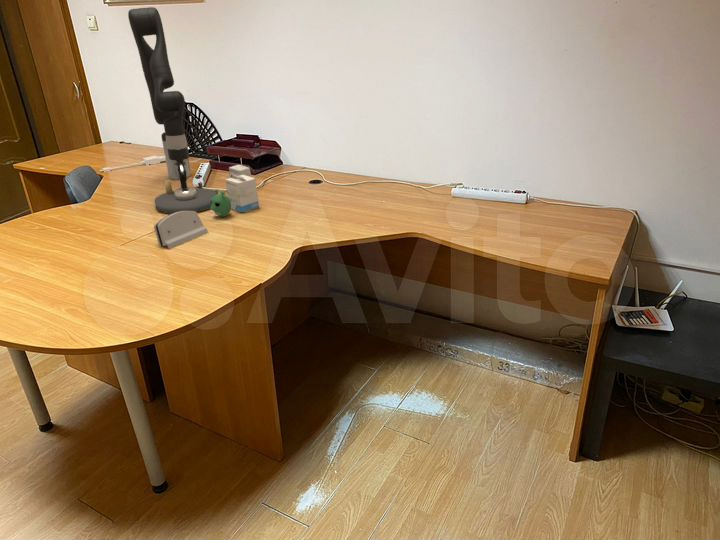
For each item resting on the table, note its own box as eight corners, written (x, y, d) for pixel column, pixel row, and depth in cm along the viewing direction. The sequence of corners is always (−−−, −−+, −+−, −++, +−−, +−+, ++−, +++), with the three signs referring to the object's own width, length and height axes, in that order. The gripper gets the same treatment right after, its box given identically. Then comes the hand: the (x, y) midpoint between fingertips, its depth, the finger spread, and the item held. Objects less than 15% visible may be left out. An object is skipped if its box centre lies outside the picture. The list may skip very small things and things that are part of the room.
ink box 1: (231, 194, 210) (228, 166, 205) (241, 192, 213) (238, 164, 208) (243, 199, 205) (240, 170, 199) (253, 196, 208) (250, 167, 203)
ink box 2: (259, 207, 195) (256, 173, 189) (241, 213, 189) (237, 178, 183) (246, 203, 200) (242, 169, 194) (228, 208, 194) (223, 174, 189)
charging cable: (99, 173, 247) (97, 166, 245) (164, 160, 264) (163, 153, 262) (102, 175, 243) (100, 168, 242) (168, 161, 260) (166, 155, 259)
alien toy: (207, 217, 186) (203, 190, 181) (225, 211, 191) (222, 186, 187) (218, 221, 182) (214, 194, 177) (236, 215, 187) (233, 189, 182)
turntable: (184, 191, 213) (181, 174, 210) (231, 198, 204) (229, 180, 201) (141, 209, 193) (137, 190, 190) (191, 217, 184) (188, 197, 181)
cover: (185, 193, 202) (184, 186, 201) (201, 196, 199) (200, 188, 197) (171, 199, 195) (169, 191, 194) (187, 201, 192) (185, 194, 191)
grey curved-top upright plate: (168, 249, 159) (156, 219, 157) (160, 251, 162) (148, 221, 160) (209, 232, 172) (198, 204, 169) (201, 234, 175) (190, 207, 172)
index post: (201, 192, 213) (199, 182, 211) (204, 193, 212) (202, 182, 210) (198, 193, 211) (197, 183, 209) (201, 194, 211) (200, 183, 209)
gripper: (165, 143, 198) (173, 186, 205) (168, 150, 187) (176, 195, 194) (185, 142, 200) (192, 184, 208) (189, 148, 189) (196, 193, 197)
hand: (184, 189), depth 201 cm, fingers closed
